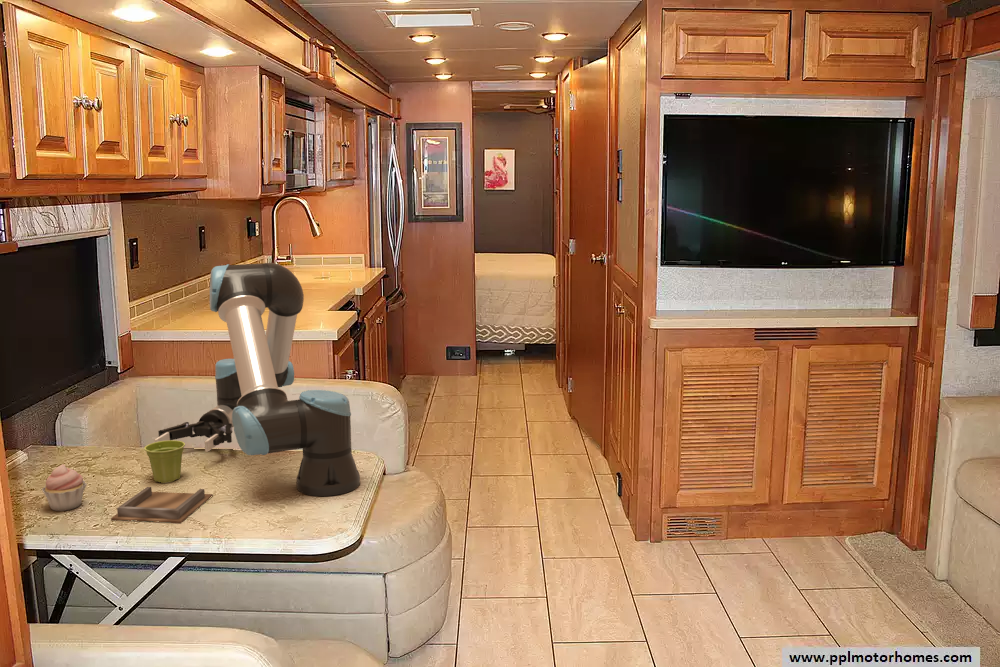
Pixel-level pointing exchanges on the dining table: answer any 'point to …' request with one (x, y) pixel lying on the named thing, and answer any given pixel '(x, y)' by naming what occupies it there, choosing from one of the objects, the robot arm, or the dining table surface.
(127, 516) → the keeper bracket
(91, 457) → the dining table surface
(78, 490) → the cupcake
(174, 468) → the plant pot
